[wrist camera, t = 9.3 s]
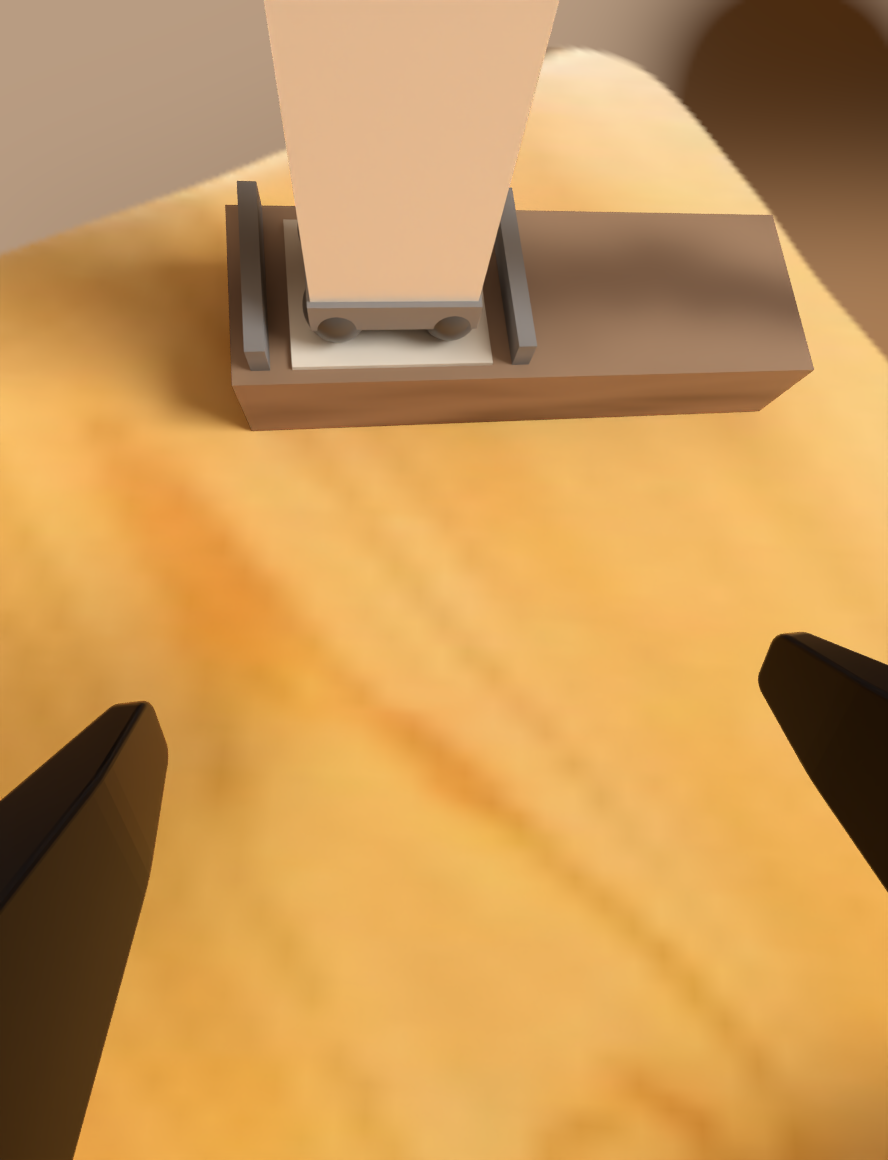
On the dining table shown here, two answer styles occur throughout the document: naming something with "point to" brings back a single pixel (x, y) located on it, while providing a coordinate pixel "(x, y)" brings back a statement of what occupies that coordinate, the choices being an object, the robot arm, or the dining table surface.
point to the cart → (402, 150)
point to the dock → (530, 325)
